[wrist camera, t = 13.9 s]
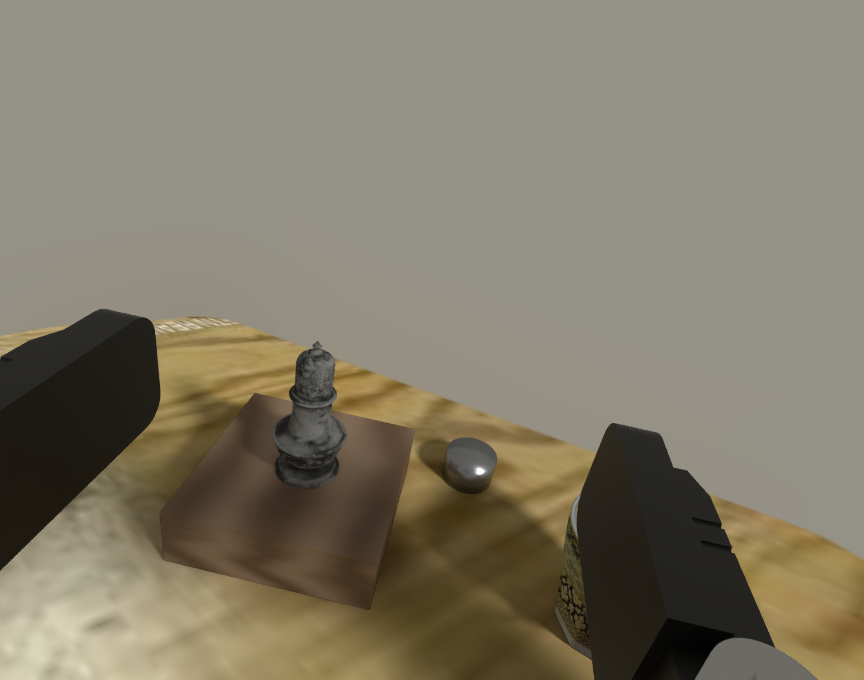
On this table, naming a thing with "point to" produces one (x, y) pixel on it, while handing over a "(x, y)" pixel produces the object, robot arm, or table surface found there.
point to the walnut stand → (290, 509)
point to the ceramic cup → (573, 591)
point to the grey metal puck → (469, 465)
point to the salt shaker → (310, 425)
